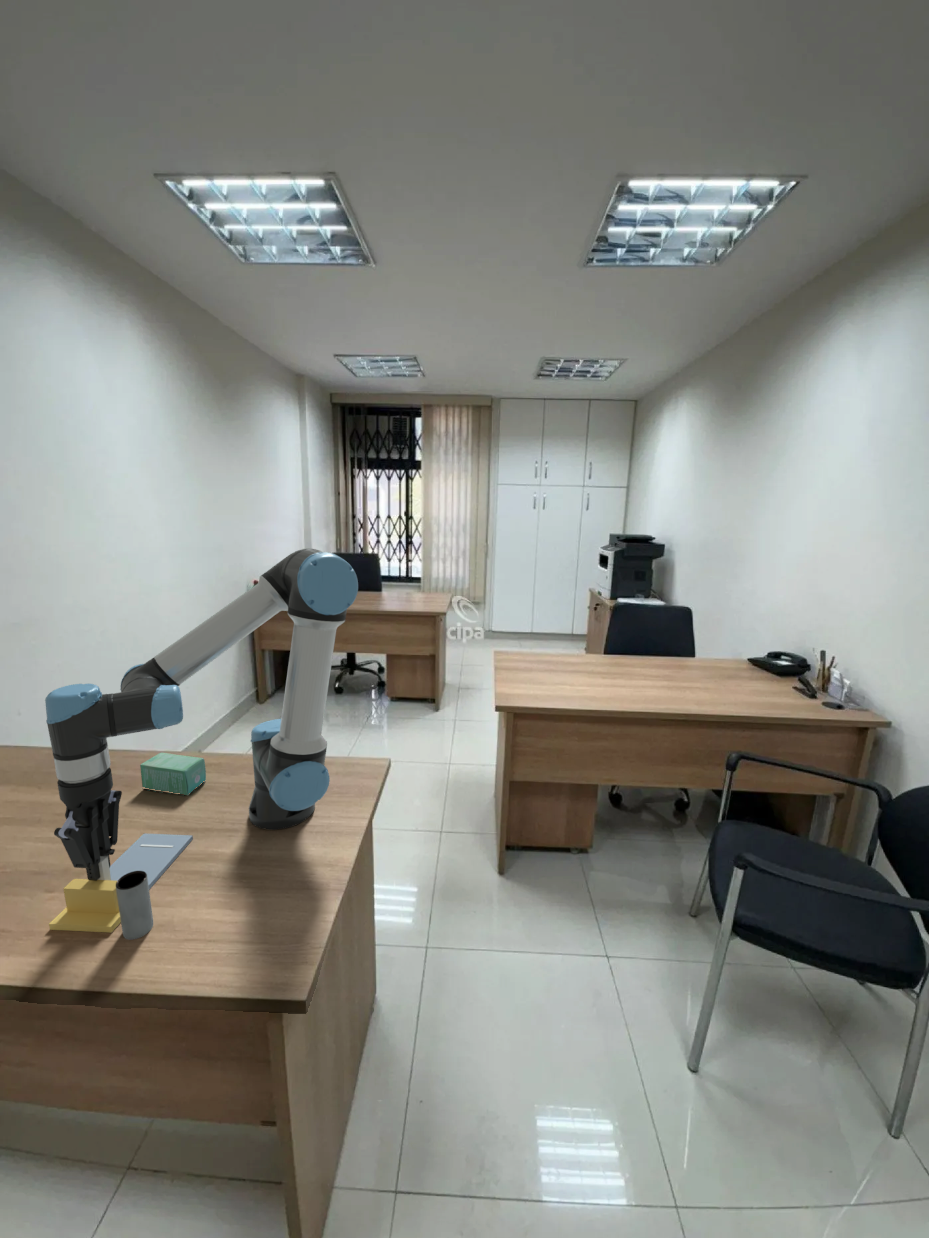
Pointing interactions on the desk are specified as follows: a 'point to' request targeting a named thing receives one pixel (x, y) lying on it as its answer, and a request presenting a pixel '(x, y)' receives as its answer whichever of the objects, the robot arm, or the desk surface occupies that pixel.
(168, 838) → the ticket
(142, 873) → the gray cylinder
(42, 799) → the desk surface
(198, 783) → the box
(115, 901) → the yellow stepped block
